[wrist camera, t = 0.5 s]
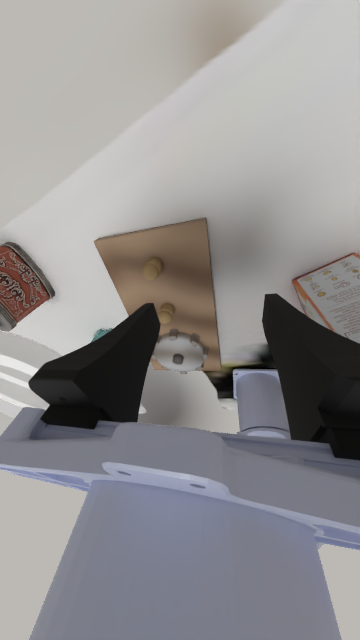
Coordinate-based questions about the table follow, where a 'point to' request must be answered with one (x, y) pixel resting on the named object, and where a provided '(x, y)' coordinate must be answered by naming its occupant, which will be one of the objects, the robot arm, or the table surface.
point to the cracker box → (333, 296)
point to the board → (169, 290)
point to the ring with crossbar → (21, 369)
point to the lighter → (20, 286)
